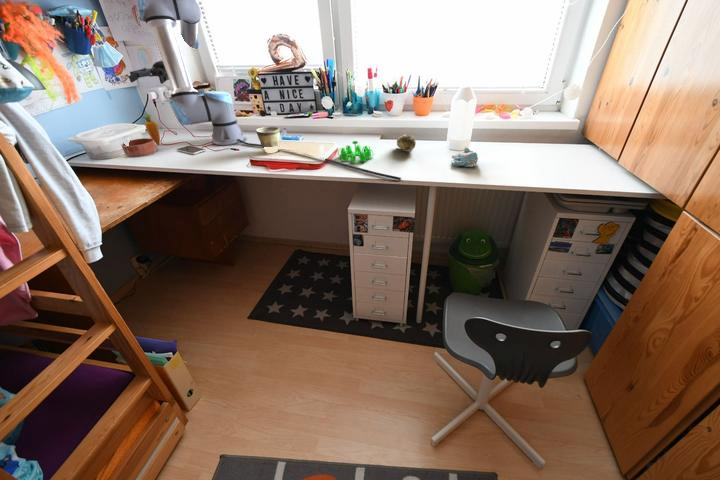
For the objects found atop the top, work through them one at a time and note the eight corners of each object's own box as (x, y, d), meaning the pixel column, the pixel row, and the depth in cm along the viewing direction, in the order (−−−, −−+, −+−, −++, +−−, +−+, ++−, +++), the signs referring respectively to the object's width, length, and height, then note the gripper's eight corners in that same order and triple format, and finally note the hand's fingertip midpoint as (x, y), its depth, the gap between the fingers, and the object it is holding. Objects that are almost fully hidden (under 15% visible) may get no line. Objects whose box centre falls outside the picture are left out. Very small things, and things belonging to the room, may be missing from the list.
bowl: (162, 150, 154) (158, 140, 151) (134, 159, 145) (129, 148, 142) (148, 146, 160) (144, 136, 158) (120, 154, 151) (115, 143, 149)
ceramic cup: (280, 154, 143) (276, 132, 138) (258, 155, 143) (253, 132, 138) (286, 146, 154) (282, 124, 148) (265, 146, 154) (261, 125, 149)
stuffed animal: (465, 143, 130) (486, 146, 119) (465, 161, 133) (486, 165, 122) (443, 148, 126) (463, 150, 116) (443, 166, 129) (463, 170, 119)
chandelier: (376, 153, 141) (376, 137, 137) (370, 165, 128) (369, 148, 125) (342, 152, 143) (341, 136, 140) (333, 163, 131) (332, 147, 127)
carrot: (159, 146, 161) (147, 114, 152) (150, 146, 162) (138, 114, 153) (166, 143, 165) (154, 112, 156) (157, 143, 166) (146, 112, 157)
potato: (415, 147, 146) (416, 129, 142) (415, 156, 135) (416, 137, 131) (396, 147, 147) (397, 129, 143) (395, 156, 136) (395, 137, 132)
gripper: (189, 77, 173) (175, 89, 157) (140, 75, 171) (121, 87, 155) (185, 61, 168) (170, 72, 152) (135, 59, 166) (114, 70, 150)
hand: (145, 80), depth 153 cm, fingers open, 13 cm apart
